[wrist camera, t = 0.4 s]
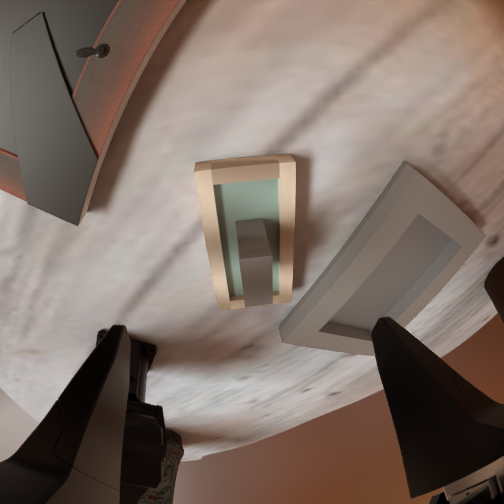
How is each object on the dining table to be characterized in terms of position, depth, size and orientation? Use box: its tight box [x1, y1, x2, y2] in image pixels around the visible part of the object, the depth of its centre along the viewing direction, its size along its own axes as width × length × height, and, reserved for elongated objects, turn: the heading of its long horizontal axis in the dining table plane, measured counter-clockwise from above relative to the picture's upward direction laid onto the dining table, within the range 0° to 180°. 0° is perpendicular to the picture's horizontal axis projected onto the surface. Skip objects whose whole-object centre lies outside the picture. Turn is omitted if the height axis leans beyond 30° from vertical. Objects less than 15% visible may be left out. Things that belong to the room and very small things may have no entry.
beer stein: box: [139, 429, 184, 504], centre depth 38 cm, size 16×19×25 cm
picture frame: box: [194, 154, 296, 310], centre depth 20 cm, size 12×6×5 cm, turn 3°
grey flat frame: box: [279, 161, 486, 356], centre depth 25 cm, size 19×13×2 cm
